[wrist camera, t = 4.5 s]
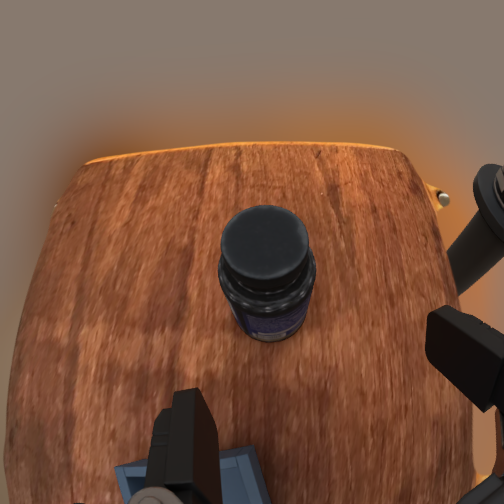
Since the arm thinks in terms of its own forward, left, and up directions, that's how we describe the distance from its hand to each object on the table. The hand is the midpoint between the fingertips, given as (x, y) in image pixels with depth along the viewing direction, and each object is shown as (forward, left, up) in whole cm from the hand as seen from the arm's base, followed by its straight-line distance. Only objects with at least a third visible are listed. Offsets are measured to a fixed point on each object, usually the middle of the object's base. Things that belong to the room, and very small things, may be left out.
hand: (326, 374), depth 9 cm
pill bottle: (0, -8, -15) cm, 17 cm away
